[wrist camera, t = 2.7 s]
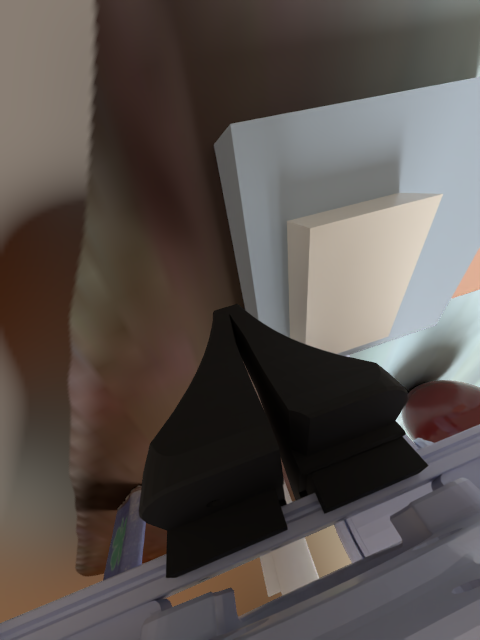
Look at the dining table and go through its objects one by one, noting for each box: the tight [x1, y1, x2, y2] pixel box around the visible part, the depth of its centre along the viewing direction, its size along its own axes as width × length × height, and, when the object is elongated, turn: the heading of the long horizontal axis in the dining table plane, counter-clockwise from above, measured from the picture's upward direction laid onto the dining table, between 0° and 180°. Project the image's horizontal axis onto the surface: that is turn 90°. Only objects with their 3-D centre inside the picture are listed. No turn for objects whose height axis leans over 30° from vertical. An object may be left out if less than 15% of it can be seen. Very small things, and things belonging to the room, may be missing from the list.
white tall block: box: [260, 478, 319, 597], centre depth 36 cm, size 11×7×20 cm, turn 162°
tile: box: [287, 193, 443, 354], centre depth 11 cm, size 8×6×2 cm
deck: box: [214, 77, 480, 356], centre depth 14 cm, size 15×16×4 cm
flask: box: [103, 486, 146, 580], centre depth 26 cm, size 9×3×11 cm, turn 145°
